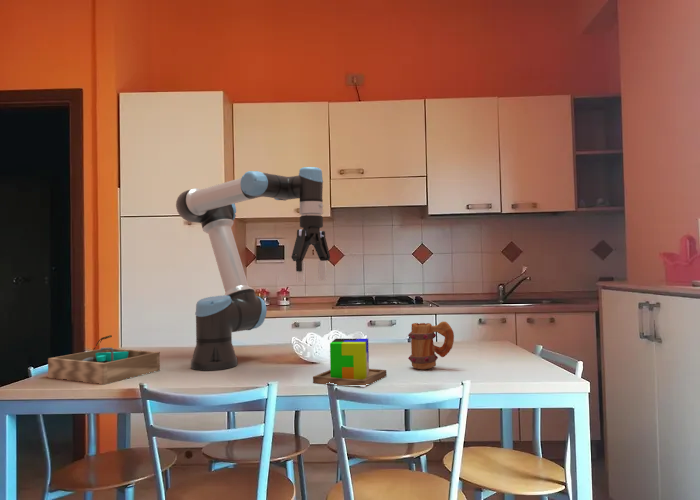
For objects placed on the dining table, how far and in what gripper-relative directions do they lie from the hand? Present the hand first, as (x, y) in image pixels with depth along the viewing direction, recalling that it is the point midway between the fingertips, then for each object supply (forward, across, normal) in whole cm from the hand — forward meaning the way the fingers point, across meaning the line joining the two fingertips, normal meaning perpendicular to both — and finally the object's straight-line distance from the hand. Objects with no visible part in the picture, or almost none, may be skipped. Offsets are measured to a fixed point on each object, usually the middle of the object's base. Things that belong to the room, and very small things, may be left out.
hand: (312, 281), depth 174 cm
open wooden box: (+29, -31, +59) cm, 73 cm away
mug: (+28, +14, -35) cm, 47 cm away
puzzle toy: (+27, -9, -18) cm, 34 cm away
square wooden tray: (+28, -9, -18) cm, 35 cm away
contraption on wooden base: (+29, -32, +58) cm, 73 cm away
